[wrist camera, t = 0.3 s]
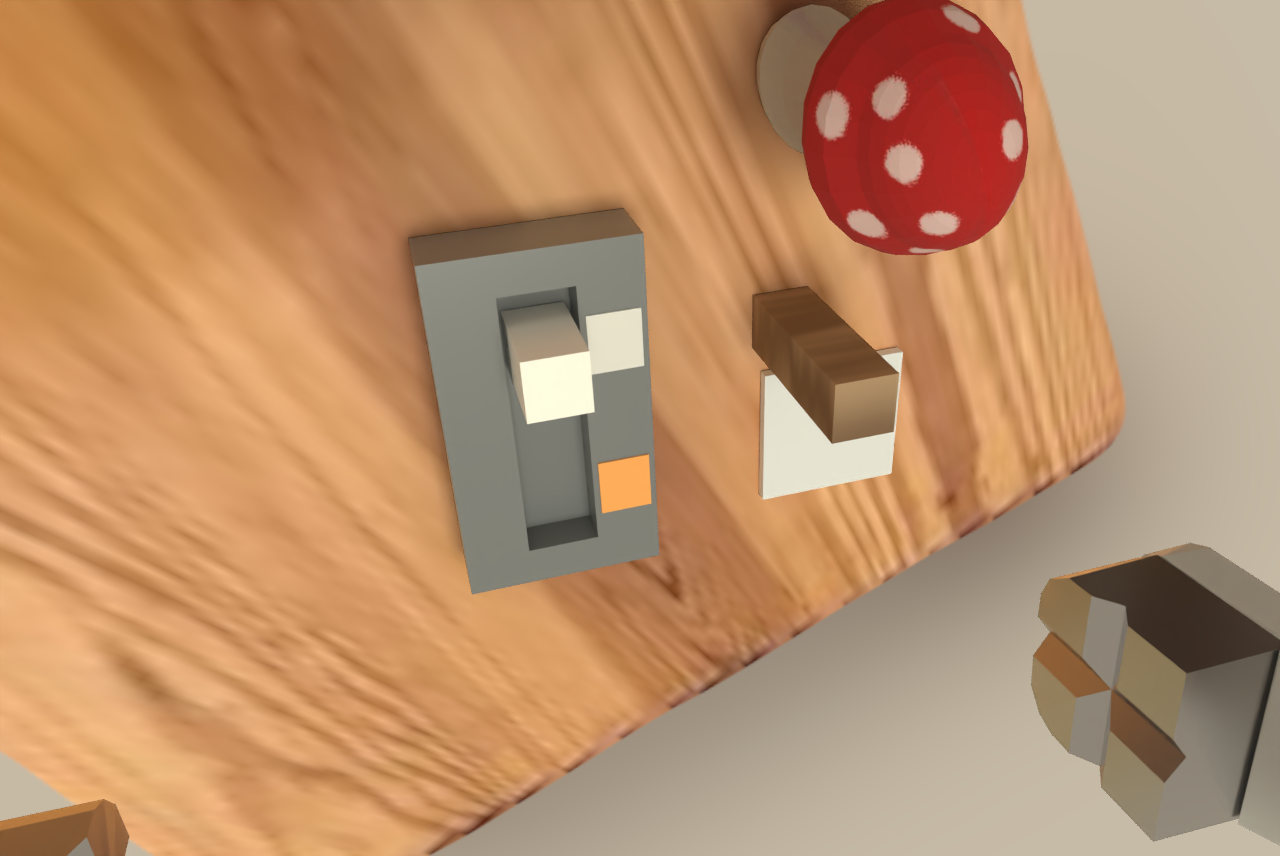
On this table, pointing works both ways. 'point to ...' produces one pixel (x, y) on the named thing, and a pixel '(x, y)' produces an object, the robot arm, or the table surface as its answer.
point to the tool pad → (814, 444)
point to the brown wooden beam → (825, 364)
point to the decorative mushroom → (899, 119)
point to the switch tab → (547, 362)
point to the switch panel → (492, 415)
